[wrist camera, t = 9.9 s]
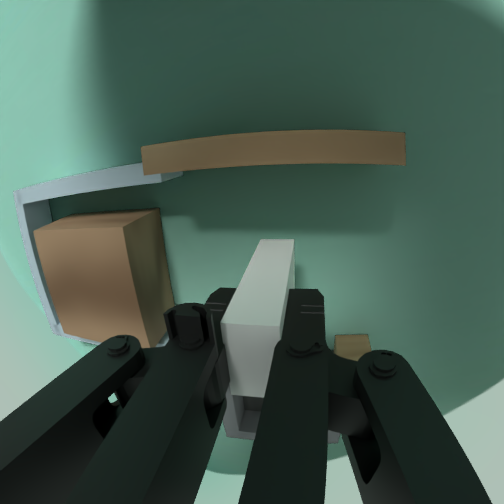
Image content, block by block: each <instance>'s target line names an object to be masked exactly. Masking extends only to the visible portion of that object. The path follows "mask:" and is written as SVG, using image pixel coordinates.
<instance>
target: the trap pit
mask: <svg viewBox="0 0 504 504" xmlns="http://www.w3.org/2000/svg"><path fill="white" fill-rule="evenodd" d="M332 352H333V353H334V351H332ZM226 399H227V408H226V411H225V414H224V417H223V423H224V427H225V432H226V436H227V437H232V438H240V439H249V440H254V439H255V435H256V431H257V426H258V422H259V418H260V413H261V409H262V404H263V400H264V398H262V397H251V396H240V395H231V390H230V384H229V386H228V389H227V392H226ZM339 436H340V433H337V432H333V431H330V430H328V443H338V440H339Z"/></svg>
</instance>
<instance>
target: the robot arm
mask: <svg viewBox="0 0 504 504" xmlns="http://www.w3.org/2000/svg"><path fill="white" fill-rule="evenodd" d="M163 316H164V320H165V324H166V328H167V332H168V336H169V340H168V342H167V343H166V345H165V346H162V347H152V348H142V347H141V344H140V342H139V339H137V338H136V337H134V336H131V335H117V336H114V337H110V338H109V339H107V340H105V341H104V342H102V343H101V344H100V345H98V346H97V347H96V348H94V349H93V350H92V351H90V352H89V353H88V354H86V355H85V356H84V357H82V358H81V359H80V360H79V361H77V362H76V363H75V364H73V365H72V366H71V367H70V368H69V369H67V370H66V371H64V372H63V373H62V374H60V375H59V376H58V377H57V378H55V379H54V380H53V381H51V382H50V383H49V384H48V385H46V386H45V387H44V388H42V389H41V390H40V391H38V392H37V393H36V394H35V395H33V396H32V397H31V398H30V399H28V400H27V401H26V402H24V403H23V404H22V405H21V406H19V407H18V408H17V409H16V410H14V411H13V412H12V413H11V414H9V415H8V416H7V417H6V418H4V419H3V420H2V421H0V504H194V501H195V498H196V496H197V493H198V490H199V487H200V484H201V482H202V478H203V476H204V473H205V470H206V467H207V464H208V461H209V459H210V456H211V453H212V450H213V447H214V444H215V441H216V438H217V435H218V432H219V429H220V426H221V423H222V420H223V417H224V414H225V411H226V408H227V399H226V392H227V389H228V386H229V384H230V390H231V395H240V396H251V397H262V398H264V400H263V404H262V409H261V413H260V418H259V422H258V426H257V431H256V435H255V439H254V443H253V447H252V451H251V456H250V460H249V464H248V468H247V472H246V475H245V480H244V483H243V487H242V491H241V495H240V498H239V503H238V504H324V499H325V486H326V469H327V447H328V430H330V431H333V432H337V433H341V434H342V438H343V441H344V444H345V447H346V450H347V454H348V457H349V460H350V463H351V466H352V469H353V472H354V475H355V479H356V482H357V485H358V488H359V491H360V495H361V498H362V501H363V504H492V503H491V500H490V499H489V497H488V495H487V493H486V491H485V489H484V487H483V485H482V483H481V481H480V479H479V477H478V476H477V474H476V472H475V470H474V468H473V467H472V465H471V463H470V461H469V459H468V458H467V456H466V454H465V453H464V451H463V449H462V447H461V446H460V444H459V442H458V440H457V439H456V437H455V435H454V434H453V432H452V430H451V429H450V427H449V425H448V424H447V422H446V420H445V419H444V417H443V416H442V414H441V412H440V411H439V409H438V408H437V406H436V404H435V403H434V401H433V400H432V398H431V397H430V395H429V393H428V392H427V390H426V389H425V387H424V386H423V384H422V383H421V381H420V380H419V378H418V377H417V375H416V374H415V372H414V371H413V369H412V368H411V366H410V365H409V363H408V362H407V361H406V360H405V359H404V358H403V357H402V356H401V355H399V354H397V353H395V352H392V351H387V350H373V351H370V352H367V353H365V354H364V355H362V356H361V357H360V358H359V359H358V361H355V360H351V359H346V358H343V357H340V356H338V355H336V354H335V353H333V352H332V351H331V350H330V349H329V348H328V346H327V345H326V340H325V315H324V296H323V295H322V294H321V293H320V292H319V290H318V289H295V247H294V239H261V240H260V242H259V244H258V246H257V248H256V250H255V252H254V254H253V256H252V258H251V260H250V262H249V264H248V266H247V269H246V271H245V273H244V275H243V277H242V279H241V281H240V283H239V285H238V287H237V288H219V289H218V290H216V291H215V292H213V293H212V294H211V295H210V296H209V298H208V299H207V301H206V303H205V304H204V305H203V304H199V303H184V304H180V305H176V306H174V307H172V308H170V309H168V310H167V311H166V312H164V313H163ZM113 393H115V395H116V397H117V399H118V400H117V401H115V402H113V403H110V402H109V400H108V397H109V396H111V395H112V394H113Z"/></svg>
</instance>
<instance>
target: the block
mask: <svg viewBox="0 0 504 504" xmlns="http://www.w3.org/2000/svg"><path fill="white" fill-rule="evenodd" d="M33 233H34V237H35V242H36V246H37V250H38V254H39V258H40V262H41V265H42V269H43V272H44V276H45V279H46V283H47V286H48V289H49V292H50V295H51V298H52V301H53V304H54V307H55V310H56V313H57V316H58V318H59V321H60V324H61V326H62V329H63V331H64V333H65V334H69V335H73V336H77V337H81V338H85V339H89V340H93V341H97V342H104V341H105V340H107V339H109V338H110V337H114V336H117V335H131V336H134V337H136V338H137V339H139V342H140V344H141V347H142V348H152V347H156V345H157V344H158V343H159V341H160V340H161V338H162V337H163V335H164V334H165V333H166V331H167V328H166V324H165V320H164V316H163V313H164V312H166V311H167V310H168V309H170V308H172V307H174V306H175V305H174V299H173V294H172V289H171V283H170V277H169V271H168V265H167V259H166V253H165V246H164V239H163V232H162V225H161V217H160V209H159V208H150V209H132V210H117V211H103V212H90V213H78V214H71V215H69V216H66V217H64V218H62V219H59V220H57V221H54V222H52V223H50V224H48V225H45V226H43V227H41V228H39V229H36V230H34V231H33Z"/></svg>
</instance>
